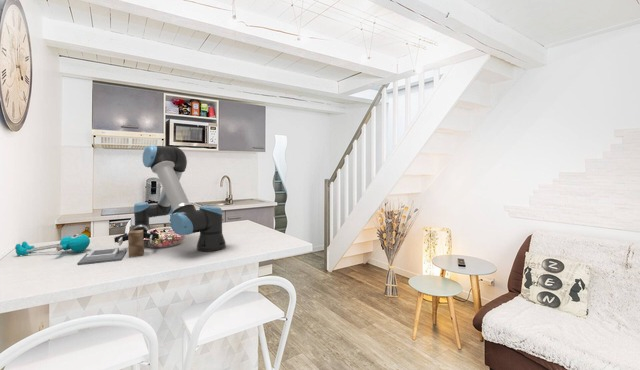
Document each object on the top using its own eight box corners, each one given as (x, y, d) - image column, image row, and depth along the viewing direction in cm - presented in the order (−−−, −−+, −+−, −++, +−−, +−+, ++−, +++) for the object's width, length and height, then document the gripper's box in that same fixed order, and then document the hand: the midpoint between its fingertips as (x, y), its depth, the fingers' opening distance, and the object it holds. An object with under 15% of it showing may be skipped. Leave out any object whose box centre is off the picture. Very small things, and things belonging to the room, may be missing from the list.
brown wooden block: (144, 252, 159) (143, 229, 158) (142, 255, 154) (142, 232, 153) (130, 253, 157) (129, 230, 156) (128, 257, 151) (128, 233, 150)
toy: (33, 237, 163) (96, 227, 169) (38, 255, 164) (100, 244, 171) (0, 249, 142) (74, 237, 148) (6, 269, 143) (78, 257, 149)
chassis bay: (126, 251, 160) (126, 246, 159) (121, 260, 146) (121, 254, 146) (86, 255, 152) (86, 249, 152) (77, 265, 139) (77, 258, 139)
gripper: (164, 236, 179) (163, 246, 159) (114, 241, 168) (106, 251, 149) (164, 224, 178) (162, 232, 159) (113, 227, 168) (105, 236, 148)
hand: (135, 241), depth 154 cm, fingers open, 13 cm apart
